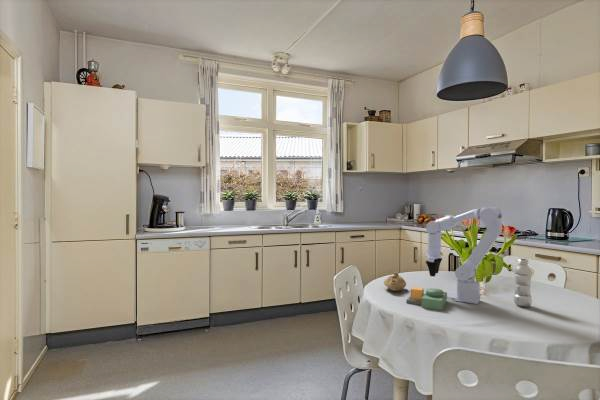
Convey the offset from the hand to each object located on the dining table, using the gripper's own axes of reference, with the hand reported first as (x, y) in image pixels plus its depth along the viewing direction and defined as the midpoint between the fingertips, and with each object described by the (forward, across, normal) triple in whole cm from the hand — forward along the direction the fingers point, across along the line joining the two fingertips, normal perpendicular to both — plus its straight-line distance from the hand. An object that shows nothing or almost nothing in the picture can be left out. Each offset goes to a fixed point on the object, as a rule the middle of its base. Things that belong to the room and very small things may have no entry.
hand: (434, 274), depth 171 cm
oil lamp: (+10, +2, -18) cm, 21 cm away
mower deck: (+9, +16, -1) cm, 19 cm away
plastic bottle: (+10, 0, +36) cm, 37 cm away
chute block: (+10, +16, -4) cm, 19 cm away
